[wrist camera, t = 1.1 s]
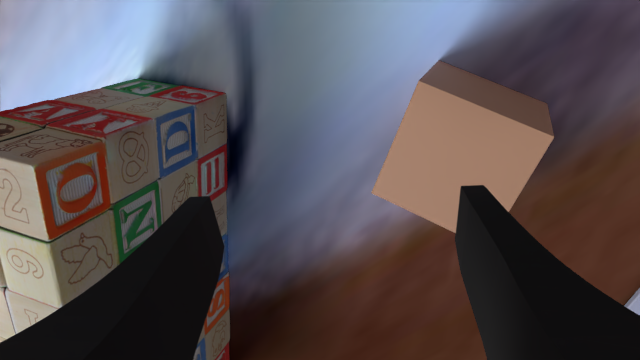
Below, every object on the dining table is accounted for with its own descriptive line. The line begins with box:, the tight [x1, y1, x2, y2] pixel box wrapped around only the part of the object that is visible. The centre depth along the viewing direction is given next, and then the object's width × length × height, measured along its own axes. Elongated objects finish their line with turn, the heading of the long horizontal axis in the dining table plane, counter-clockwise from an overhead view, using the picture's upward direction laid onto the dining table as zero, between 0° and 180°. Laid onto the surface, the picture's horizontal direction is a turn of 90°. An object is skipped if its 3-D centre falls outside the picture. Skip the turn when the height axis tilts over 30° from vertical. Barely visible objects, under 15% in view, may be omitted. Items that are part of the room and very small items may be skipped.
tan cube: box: [372, 60, 554, 233], centre depth 20 cm, size 5×5×5 cm
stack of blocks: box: [0, 78, 230, 360], centre depth 26 cm, size 21×6×12 cm, turn 177°
